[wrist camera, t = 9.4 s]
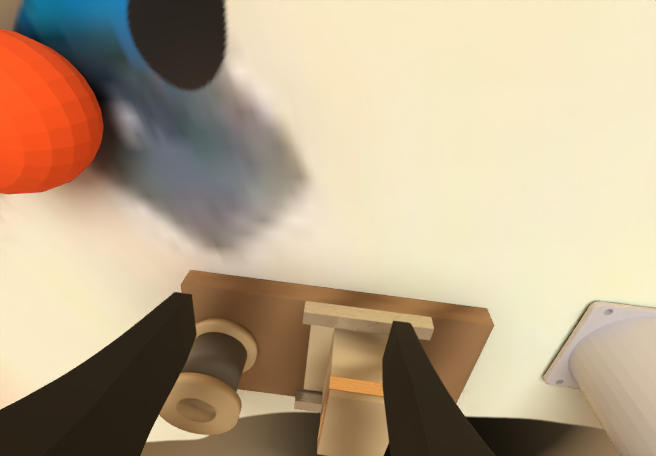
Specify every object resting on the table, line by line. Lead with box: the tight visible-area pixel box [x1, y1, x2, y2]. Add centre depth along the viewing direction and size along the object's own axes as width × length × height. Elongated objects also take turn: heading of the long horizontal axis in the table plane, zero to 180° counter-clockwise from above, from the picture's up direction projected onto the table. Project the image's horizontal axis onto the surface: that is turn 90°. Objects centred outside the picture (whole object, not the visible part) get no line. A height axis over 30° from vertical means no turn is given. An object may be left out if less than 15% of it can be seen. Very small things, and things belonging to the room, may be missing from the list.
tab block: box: [317, 328, 389, 456], centre depth 23 cm, size 4×6×5 cm
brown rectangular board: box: [181, 270, 494, 412], centre depth 26 cm, size 20×10×2 cm, turn 84°
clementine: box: [0, 29, 104, 194], centre depth 16 cm, size 8×7×7 cm
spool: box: [159, 318, 258, 435], centre depth 23 cm, size 5×5×5 cm
